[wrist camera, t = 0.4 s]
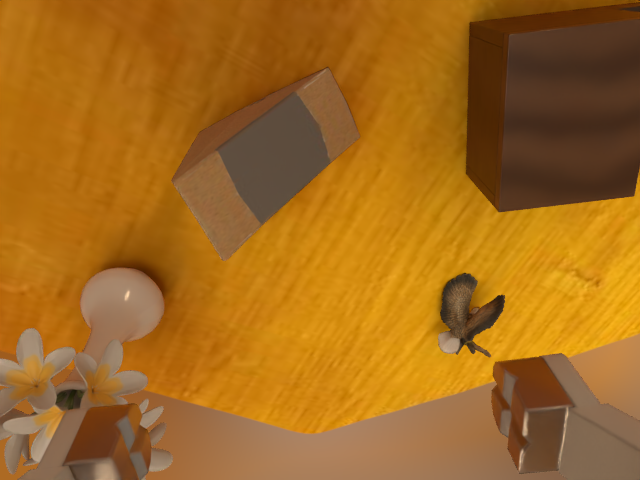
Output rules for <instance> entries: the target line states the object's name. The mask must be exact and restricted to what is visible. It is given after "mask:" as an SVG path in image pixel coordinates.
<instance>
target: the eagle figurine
mask: <svg viewBox="0 0 640 480" xmlns="http://www.w3.org/2000/svg"><path fill="white" fill-rule="evenodd" d="M476 286H477V281H476V280H475V278H474V277H471V275H470V274H466V273H464V274H463V275H462V276H461V275H459V276H457V277H456V279H452V281H451V282H448V284H447V285H446V287H445V288H444V292H443V299H442V301H443V303H442V309H441V312H440V314H441V319H442V320H443V322H444V323H446V325H447V326H448V327H449V328H450V329H451V330H450V331H446V332H442V333H440V334H439V336H438V341H439V347H440V349H441V350H442V351H443V352H445V353H455V352H456V354H458V353H459V351H460V350H461V348H462V347H463V345H467V347H468V348H469V350H470V351H471V353H472V354H474V353H475V350H477V351H480V352H482V353H484V354H485V355H486V356H488V357H491V355H490V354H489V352H488V351H487V350H484V349H483V348H481V347H480V346H477V345H476V344H475V343H474V342H473V341H472V340H473V338H474V336H475V335H476V334H479V333H480V332H482V331H483V330H486V329H487V328H491V326H493V325H494V323H495V322H496V320H497V319H498V317H499V316H500V314H501V313H502V311H503V308H504V303H505V300H504V299H505V295H504V296H503V295H501V296H500V295H498V296H497V297H496V298H495V299H494V300H492V301H491V302H489V303H487V304H486V305H484V306H482V307H481V308H480V309H479V307H477V308H473V309H472V311H471V312H470V313H469V305H470V301H471V297H472V294H473V292H474V290H475V288H476Z"/></svg>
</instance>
